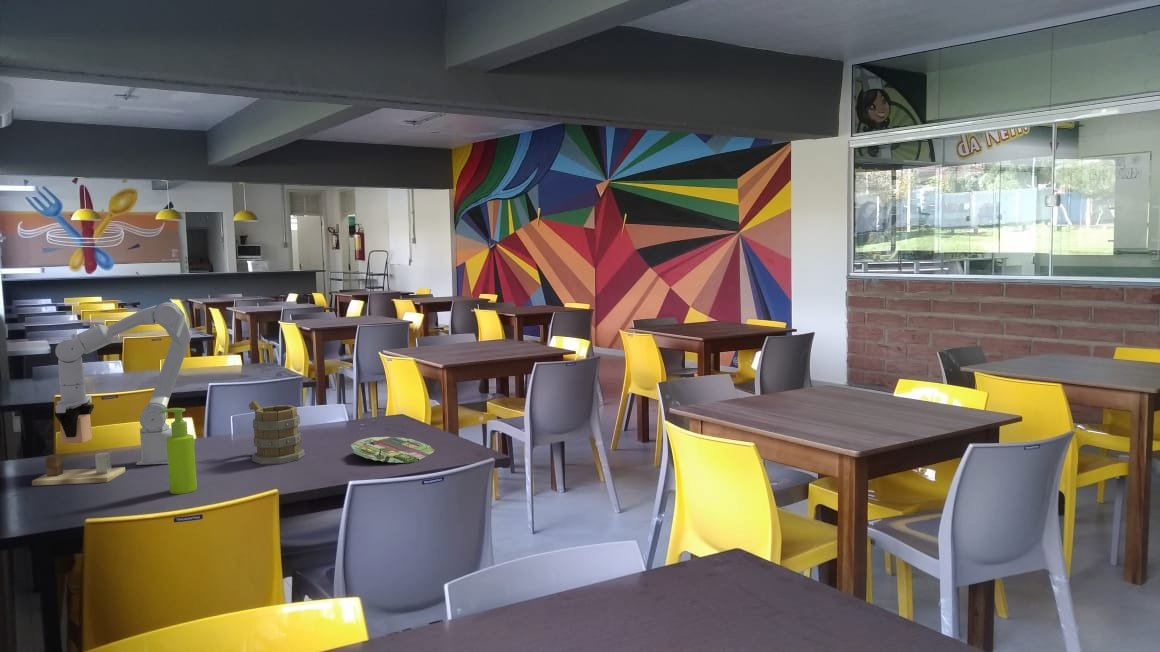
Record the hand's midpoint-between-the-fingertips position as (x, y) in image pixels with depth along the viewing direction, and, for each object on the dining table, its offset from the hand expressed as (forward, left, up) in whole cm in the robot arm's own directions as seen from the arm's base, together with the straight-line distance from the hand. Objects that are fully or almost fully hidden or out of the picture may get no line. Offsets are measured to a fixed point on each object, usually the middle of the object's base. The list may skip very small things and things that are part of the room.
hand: (76, 434), depth 221 cm
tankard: (-48, -6, -10) cm, 50 cm away
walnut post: (+2, +9, -8) cm, 12 cm away
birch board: (-4, +9, -10) cm, 14 cm away
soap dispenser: (-35, +25, -10) cm, 44 cm away
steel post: (-10, +9, -8) cm, 16 cm away
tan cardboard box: (0, 0, -2) cm, 2 cm away
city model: (-83, -1, -10) cm, 83 cm away
